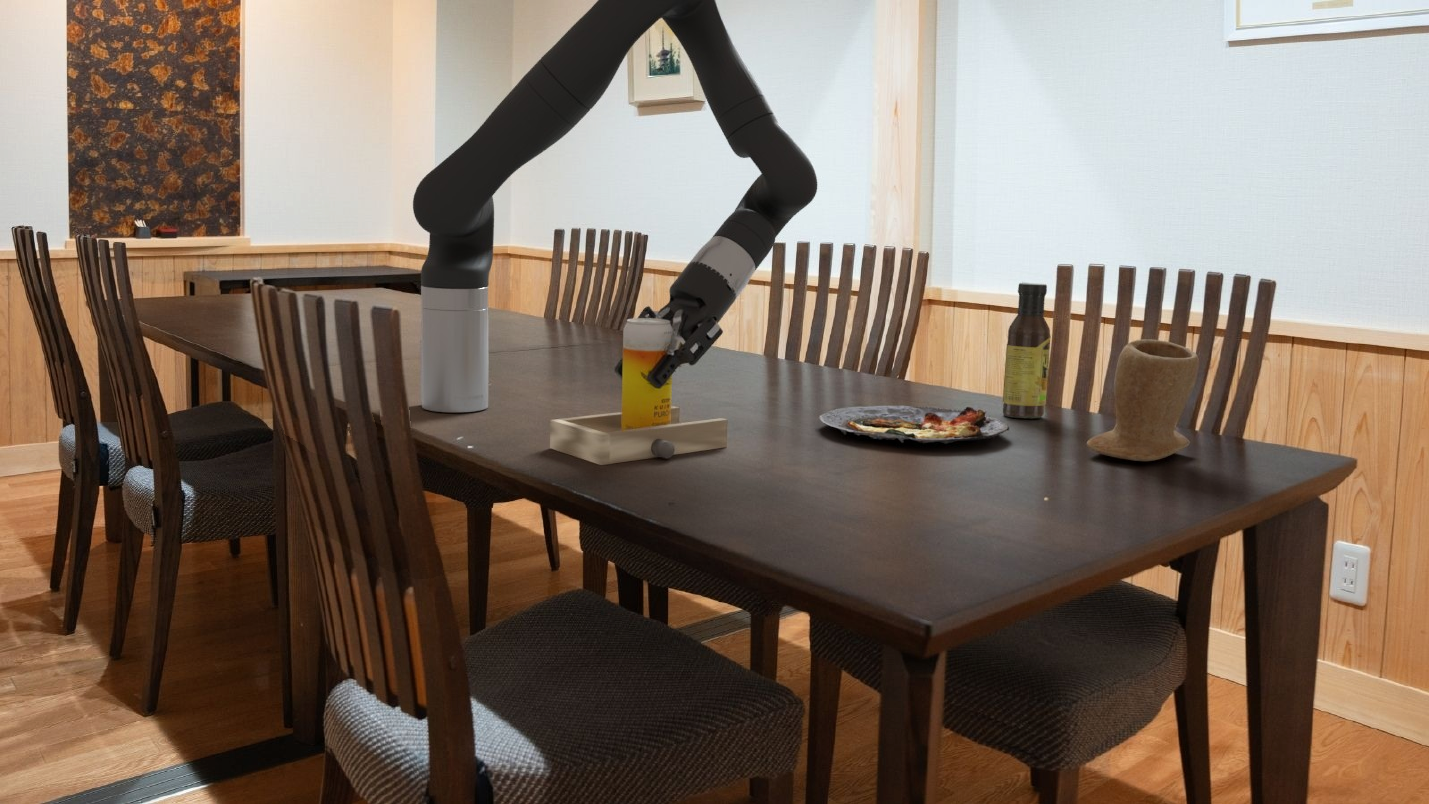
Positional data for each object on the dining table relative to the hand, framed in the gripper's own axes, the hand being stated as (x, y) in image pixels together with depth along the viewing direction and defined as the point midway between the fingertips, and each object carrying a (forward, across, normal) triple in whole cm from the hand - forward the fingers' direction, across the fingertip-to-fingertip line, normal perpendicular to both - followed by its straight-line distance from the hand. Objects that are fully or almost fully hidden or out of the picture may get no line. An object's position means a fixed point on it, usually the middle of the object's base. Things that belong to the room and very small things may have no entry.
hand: (636, 379), depth 148 cm
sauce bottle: (-38, +12, +51) cm, 65 cm away
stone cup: (-31, +38, +44) cm, 66 cm away
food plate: (-21, +12, +34) cm, 41 cm away
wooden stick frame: (+5, 0, +7) cm, 9 cm away
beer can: (+4, 0, +7) cm, 8 cm away
